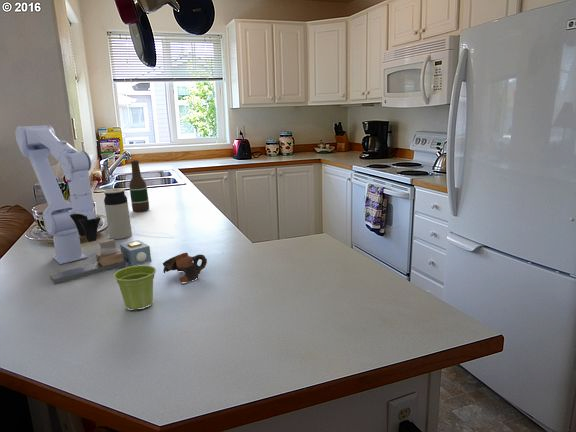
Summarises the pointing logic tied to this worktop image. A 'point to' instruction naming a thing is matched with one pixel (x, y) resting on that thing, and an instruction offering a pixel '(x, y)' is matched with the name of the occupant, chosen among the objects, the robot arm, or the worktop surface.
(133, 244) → the button
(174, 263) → the pottery mug
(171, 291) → the worktop surface
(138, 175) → the beer bottle
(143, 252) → the blue grey control box
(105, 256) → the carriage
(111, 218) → the travel mug
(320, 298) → the worktop surface
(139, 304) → the plant pot
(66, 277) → the rail
